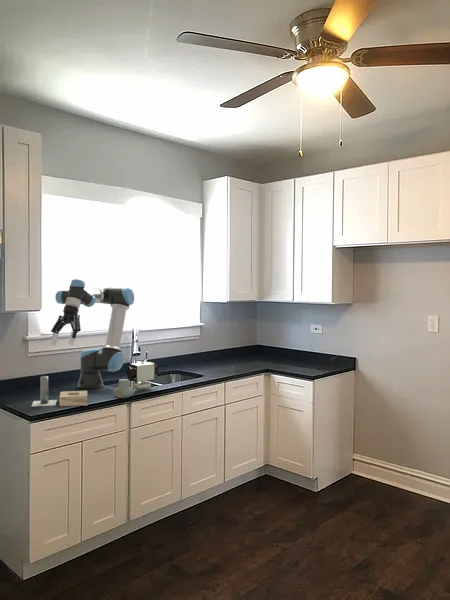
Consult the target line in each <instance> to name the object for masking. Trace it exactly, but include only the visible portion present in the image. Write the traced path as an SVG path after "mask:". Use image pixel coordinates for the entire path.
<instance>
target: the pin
mask: <svg viewBox="0 0 450 600" xmlns="http://www.w3.org/2000/svg"><path fill="white" fill-rule="evenodd" d="M39 381H40V382H39V383H40V389H39V390H40V397H39V399H40V400H39V401H40V402H41V404H47V403H48V400H49V376H48V375H42V376H40V379H39Z"/></svg>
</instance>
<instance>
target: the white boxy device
mask: <svg viewBox="0 0 450 600" xmlns="http://www.w3.org/2000/svg"><path fill="white" fill-rule="evenodd" d="M158 375H159V367H158V365H157V364H156V362H152V361H151V362H150V361H144V360H141V362H138V363H137V362H136V363H130V364H129V366H128V368H127V369H126V376H127V379H129V381H131V382H135V384H134V390H135V391H137V392H141V391H148V390H150V389H151V388H152V384H151V382H148V381H151V380H156V377H157V376H158ZM136 382H137V383H136ZM138 390H139V391H138Z"/></svg>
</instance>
